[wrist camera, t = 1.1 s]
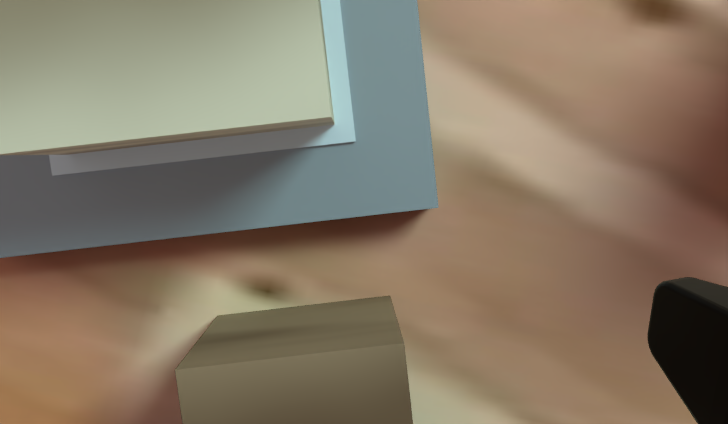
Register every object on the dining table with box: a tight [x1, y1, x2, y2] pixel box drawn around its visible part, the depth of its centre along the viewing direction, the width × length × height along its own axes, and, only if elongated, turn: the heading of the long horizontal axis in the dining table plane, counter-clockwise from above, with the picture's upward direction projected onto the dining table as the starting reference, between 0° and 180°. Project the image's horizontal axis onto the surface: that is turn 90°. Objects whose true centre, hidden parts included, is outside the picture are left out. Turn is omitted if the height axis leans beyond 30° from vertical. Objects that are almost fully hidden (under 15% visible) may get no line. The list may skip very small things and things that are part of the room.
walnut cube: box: [175, 296, 413, 424], centre depth 18 cm, size 5×5×5 cm
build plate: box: [0, 0, 438, 258], centre depth 18 cm, size 12×12×1 cm
